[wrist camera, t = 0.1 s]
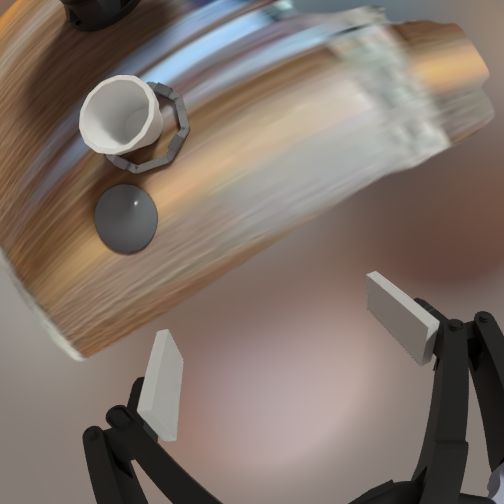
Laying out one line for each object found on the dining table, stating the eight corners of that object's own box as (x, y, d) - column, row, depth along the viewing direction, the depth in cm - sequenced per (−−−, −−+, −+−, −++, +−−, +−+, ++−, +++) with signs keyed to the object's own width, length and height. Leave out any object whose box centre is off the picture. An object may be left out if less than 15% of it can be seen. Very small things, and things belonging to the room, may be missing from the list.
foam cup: (138, 168, 38) (106, 171, 26) (106, 127, 35) (66, 117, 23) (185, 128, 37) (171, 112, 25) (151, 87, 34) (126, 60, 22)
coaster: (88, 197, 38) (86, 197, 37) (146, 174, 38) (145, 174, 38) (109, 258, 42) (107, 259, 41) (166, 240, 42) (165, 241, 41)
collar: (97, 105, 33) (92, 103, 31) (177, 74, 34) (175, 70, 32) (115, 182, 38) (110, 183, 36) (196, 154, 38) (195, 153, 36)
